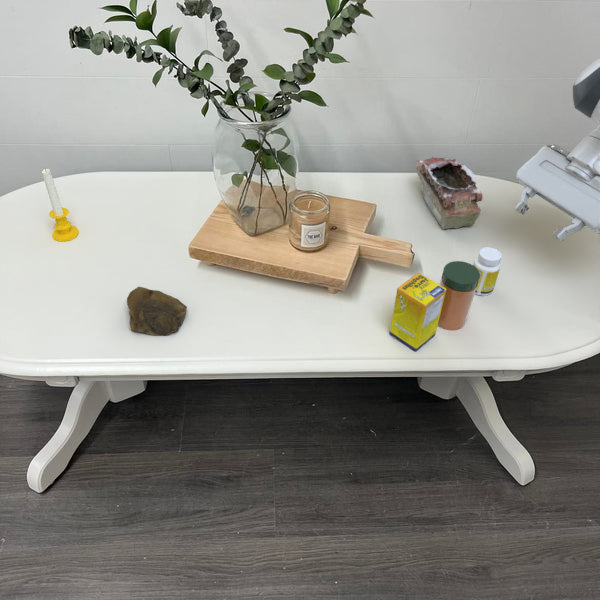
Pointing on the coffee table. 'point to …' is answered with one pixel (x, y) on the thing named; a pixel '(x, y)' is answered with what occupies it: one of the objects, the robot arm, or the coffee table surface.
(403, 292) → the supplement box
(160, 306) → the decorative stone
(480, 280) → the supplement bottle
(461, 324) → the jar
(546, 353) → the coffee table surface
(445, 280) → the lid
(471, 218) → the decorative box
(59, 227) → the candle
